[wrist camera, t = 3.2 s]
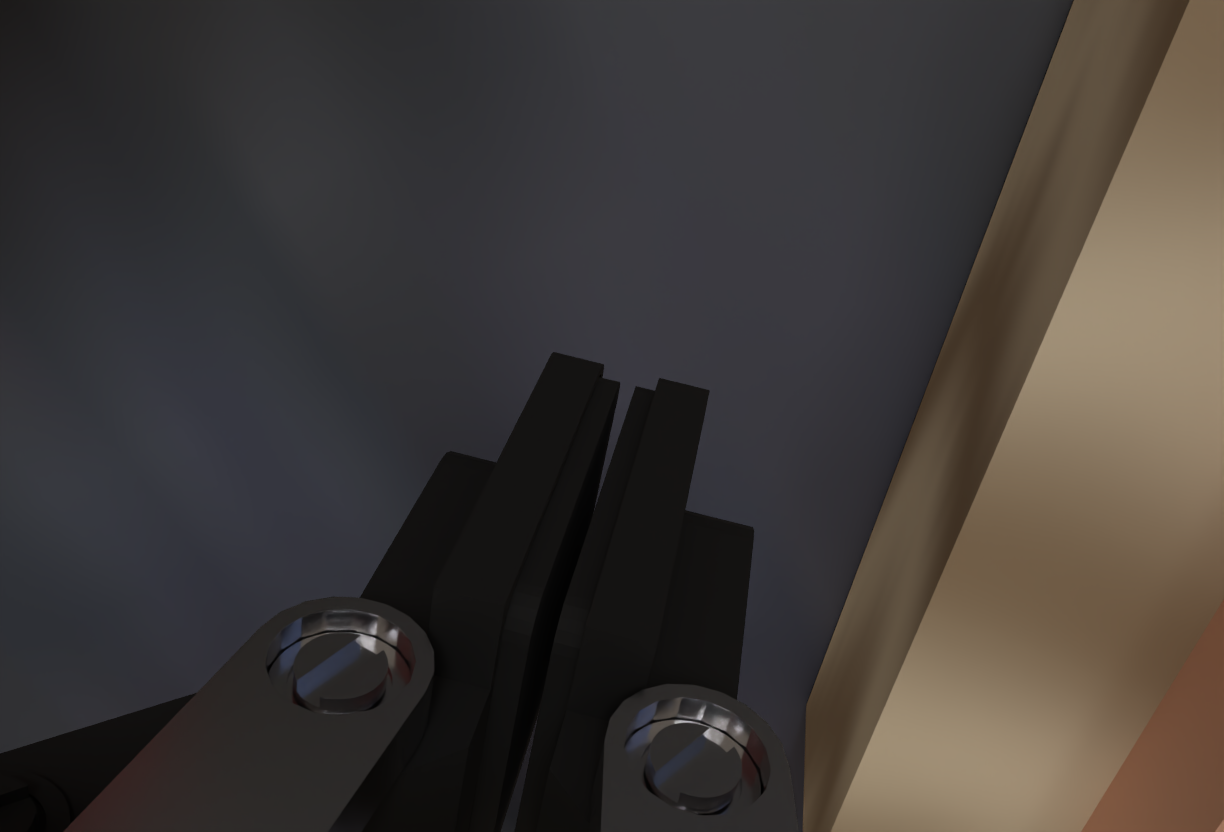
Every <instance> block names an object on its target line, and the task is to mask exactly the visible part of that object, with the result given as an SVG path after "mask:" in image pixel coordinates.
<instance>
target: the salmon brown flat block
mask: <svg viewBox="0 0 1224 832" xmlns="http://www.w3.org/2000/svg"><path fill="white" fill-rule="evenodd" d="M1081 832H1224V600H1223V601H1222V603H1221V605H1220V606H1219V608H1218V609H1217V611H1216V613H1215V614H1214V616H1213V618H1212V619H1211V621H1210V622H1209V624H1208V626H1207V627H1206V629H1205V631H1204V632H1203V634H1202V635H1201V637H1200V639H1199V640H1198V642H1197V644H1196V645H1195V647H1194V649H1193V650H1192V652H1191V653H1190V655H1189V657H1188V658H1187V660H1186V662H1185V663H1184V665H1183V666H1182V668H1181V670H1180V671H1179V673H1178V675H1177V676H1176V678H1175V680H1174V681H1173V683H1172V684H1171V686H1170V688H1169V689H1168V691H1167V693H1166V694H1165V696H1164V697H1163V699H1162V701H1161V702H1160V704H1159V706H1158V707H1157V709H1156V710H1155V712H1154V714H1153V715H1152V717H1151V719H1150V720H1149V722H1148V724H1147V725H1146V727H1145V728H1144V730H1143V732H1142V733H1141V735H1140V737H1139V738H1138V740H1137V741H1136V743H1135V745H1134V746H1133V748H1132V750H1131V751H1130V753H1129V755H1128V756H1127V758H1126V759H1125V761H1124V763H1123V764H1122V766H1121V768H1120V769H1119V771H1118V772H1117V774H1116V776H1115V777H1114V779H1113V781H1112V782H1111V784H1110V785H1109V787H1108V789H1107V790H1106V792H1105V794H1104V795H1103V797H1102V799H1101V800H1100V802H1099V803H1098V805H1097V807H1096V808H1095V810H1094V812H1093V813H1092V815H1091V816H1090V818H1089V820H1088V821H1087V823H1086V825H1085V826H1084V828H1083V830H1082V831H1081Z"/></svg>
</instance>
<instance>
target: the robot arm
mask: <svg viewBox="0 0 1224 832" xmlns="http://www.w3.org/2000/svg"><path fill="white" fill-rule="evenodd" d="M603 370H604V364H600V363H596V362H592V361H588V360H584V359H580V358H576V357H572V356H567V355H563V354H559V353H555V352H553V353H552V354H551V356H550V358H549V360H548V362H547V364H546V366H545V368H544V370H543V372H542V374H541V376H540V378H539V380H538V382H537V384H536V386H535V388H534V390H533V392H532V394H531V396H530V398H529V400H528V402H527V404H526V406H525V408H524V410H523V412H522V413H521V415H520V417H519V419H518V421H517V423H516V425H515V427H514V429H513V431H512V433H511V435H510V437H509V439H508V441H507V443H506V445H505V447H504V449H503V451H502V453H501V455H500V457H499V459H498V461H497V463H496V462H492V461H488V460H484V459H480V458H476V457H472V456H468V455H464V454H460V453H456V452H452V451H450V452H447V453H446V454H445V456H444V457H443V458H442V460H441V461H440V463H439V464H438V466H437V468H436V469H435V471H434V473H433V475H432V476H431V478H430V480H429V481H428V483H427V485H426V486H425V488H424V490H423V491H422V493H421V495H420V497H419V498H418V500H417V502H416V503H415V505H414V507H413V508H412V510H411V512H410V513H409V515H408V517H407V519H406V520H405V522H404V524H403V525H402V527H401V529H400V530H399V532H398V534H397V535H396V537H395V539H394V541H393V542H392V544H391V546H390V547H389V549H388V551H387V552H386V554H385V556H384V557H383V559H382V561H381V563H380V564H379V566H378V568H377V569H376V571H375V573H374V574H373V576H372V578H371V580H370V581H369V583H368V585H367V586H366V588H365V590H364V591H363V593H362V595H361V596H360V598H354V597H329V598H323V599H317V600H311V601H305V602H303V603H301V604H298V605H296V606H293V607H291V608H288V609H286V610H284V611H281V612H280V613H278V614H277V615H276V616H274V617H273V618H272V619H271V620H269V621H268V622H267V623H265V624H264V625H263V626H261V627H260V628H259V629H258V630H257V631H256V632H255V633H254V634H253V636H252V637H251V638H250V639H249V640H248V641H247V642H246V643H245V644H244V645H243V646H242V647H241V648H240V649H239V650H238V651H237V652H236V653H235V654H234V655H233V656H232V657H231V658H230V659H229V660H228V661H227V662H226V663H225V665H224V666H223V667H222V668H221V669H220V670H219V671H218V672H217V673H216V674H215V675H214V676H213V677H212V678H211V679H210V680H209V681H208V682H207V683H206V684H205V685H204V686H203V687H202V688H201V689H200V690H199V691H198V693H195V694H192V695H188V696H185V697H182V698H179V699H175V700H172V701H169V702H166V703H162V704H159V705H156V706H153V707H150V708H146V709H143V710H140V711H137V712H133V713H130V714H127V715H124V716H120V717H117V718H114V719H111V720H107V721H104V722H101V723H98V724H95V725H91V726H88V727H85V728H82V729H78V730H75V731H72V732H69V733H65V734H62V735H59V736H56V737H52V738H49V739H46V740H43V741H40V742H36V743H33V744H30V745H27V746H23V747H20V748H17V749H14V750H10V751H7V752H4V753H1V754H0V832H500V831H501V828H502V825H503V822H504V819H505V816H506V813H507V809H508V806H509V803H510V800H511V797H512V794H513V791H514V788H515V785H516V781H517V778H518V775H519V772H520V769H521V766H522V763H523V760H524V756H525V753H526V750H527V747H528V744H529V741H530V738H531V735H532V731H533V728H534V725H535V722H536V719H537V716H538V720H537V725H536V730H535V735H534V740H533V745H532V749H531V754H530V759H529V764H528V769H527V774H526V779H525V784H524V789H523V794H522V798H521V803H520V808H519V813H518V818H517V823H516V828H515V832H799V828H798V821H797V814H796V807H795V800H794V793H793V786H792V779H791V772H790V766H789V763H788V760H787V757H786V754H785V751H784V748H783V745H782V743H781V742H780V740H779V739H778V737H777V736H776V735H775V733H774V732H773V730H772V729H771V727H770V726H769V725H768V723H767V722H766V721H765V720H763V719H762V718H761V717H760V716H759V715H757V714H756V713H755V712H754V711H753V710H751V709H750V708H749V707H748V706H747V705H745V704H743V703H741V702H740V701H738V700H737V692H738V683H739V673H740V664H741V654H742V645H743V635H744V626H745V616H746V607H747V597H748V588H749V578H750V568H751V559H752V549H753V540H754V529H753V527H750V526H746V525H742V524H738V523H734V522H730V521H726V520H722V519H718V518H714V517H710V516H706V515H702V514H698V513H694V512H690V511H686V510H685V508H686V503H687V498H688V493H689V488H690V483H691V479H692V474H693V469H694V464H695V459H696V454H697V449H698V445H699V440H700V435H701V430H702V425H703V420H704V415H705V411H706V406H707V401H708V396H709V390H706V389H702V388H698V387H694V386H690V385H686V384H682V383H678V382H674V381H669V380H665V379H661V378H659V380H658V383H657V387H656V390H655V391H653V390H649V389H645V388H641V387H637V386H636V388H635V390H634V393H633V396H632V399H631V402H630V405H629V408H628V411H627V414H626V417H625V420H624V423H623V426H622V429H621V432H620V435H619V438H618V441H617V444H616V447H615V450H614V453H613V456H612V459H611V462H610V465H609V468H608V471H607V474H606V477H605V480H604V483H603V486H602V489H601V492H600V495H599V498H598V501H597V505H596V508H595V511H594V507H595V503H596V498H597V493H598V488H599V484H600V479H601V474H602V470H603V465H604V460H605V455H606V451H607V446H608V441H609V437H610V432H611V427H612V422H613V418H614V413H615V408H616V404H617V399H618V394H619V388H620V382H616V381H612V380H608V379H604V378H602V377H603ZM593 512H594V514H593ZM538 713H539V715H538Z"/></svg>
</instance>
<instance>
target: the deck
mask: <svg viewBox="0 0 1224 832" xmlns="http://www.w3.org/2000/svg"><path fill="white" fill-rule="evenodd" d="M1223 600H1224V0H1074V1H1073V4H1072V6H1071V9H1070V12H1069V14H1068V17H1067V20H1066V22H1065V25H1064V28H1063V30H1062V33H1061V35H1060V38H1059V41H1058V43H1057V46H1056V49H1055V51H1054V54H1053V56H1052V59H1051V62H1050V64H1049V67H1048V70H1047V72H1046V75H1045V78H1044V80H1043V83H1042V85H1041V88H1040V91H1039V93H1038V96H1037V99H1036V101H1035V104H1034V107H1033V109H1032V112H1031V114H1030V117H1029V120H1028V122H1027V125H1026V128H1025V130H1024V133H1023V136H1022V138H1021V141H1020V143H1019V146H1018V149H1017V151H1016V154H1015V157H1014V159H1013V162H1012V165H1011V167H1010V170H1009V172H1008V175H1007V178H1006V180H1005V183H1004V186H1003V188H1002V191H1001V194H1000V196H999V199H998V201H997V204H996V207H995V209H994V212H993V215H992V217H991V220H990V223H989V225H988V228H987V230H986V233H985V236H984V238H983V241H982V244H981V246H980V249H979V252H978V254H977V257H976V259H975V262H974V265H973V267H972V270H971V273H970V275H969V278H968V280H967V283H966V286H965V288H964V291H963V294H962V296H961V299H960V302H959V304H958V307H957V309H956V312H955V315H954V317H953V320H952V323H951V325H950V328H949V331H948V333H947V336H946V338H945V341H944V344H943V346H942V349H941V352H940V354H939V357H938V360H937V362H936V365H935V367H934V370H933V373H932V375H931V378H930V381H929V383H928V386H927V389H926V391H925V394H924V396H923V399H922V402H921V404H920V407H919V410H918V412H917V415H916V418H915V420H914V423H913V425H912V428H911V431H910V433H909V436H908V439H907V441H906V444H905V447H904V449H903V452H902V454H901V457H900V460H899V462H898V465H897V468H896V470H895V473H894V475H893V478H892V481H891V483H890V486H889V489H888V491H887V494H886V497H885V499H884V502H883V504H882V507H881V510H880V512H879V515H878V518H877V520H876V523H875V526H874V528H873V531H872V533H871V536H870V539H869V541H868V544H867V547H866V549H865V552H864V555H863V557H862V560H861V562H860V565H859V568H858V570H857V573H856V576H855V578H854V581H853V584H852V586H851V589H850V591H849V594H848V597H847V599H846V602H845V605H844V607H843V610H842V613H841V615H840V618H839V620H838V623H837V626H836V628H835V631H834V634H833V636H832V639H831V642H830V644H829V647H828V649H827V652H826V655H825V657H824V660H823V663H822V665H821V668H820V670H819V673H818V676H817V678H816V681H815V684H814V686H813V689H812V692H811V694H810V697H809V699H808V702H807V705H806V735H805V770H804V806H803V832H1081V831H1082V830H1083V828H1084V826H1085V825H1086V823H1087V821H1088V820H1089V818H1090V816H1091V815H1092V813H1093V812H1094V810H1095V808H1096V807H1097V805H1098V803H1099V802H1100V800H1101V799H1102V797H1103V795H1104V794H1105V792H1106V790H1107V789H1108V787H1109V785H1110V784H1111V782H1112V781H1113V779H1114V777H1115V776H1116V774H1117V772H1118V771H1119V769H1120V768H1121V766H1122V764H1123V763H1124V761H1125V759H1126V758H1127V756H1128V755H1129V753H1130V751H1131V750H1132V748H1133V746H1134V745H1135V743H1136V741H1137V740H1138V738H1139V737H1140V735H1141V733H1142V732H1143V730H1144V728H1145V727H1146V725H1147V724H1148V722H1149V720H1150V719H1151V717H1152V715H1153V714H1154V712H1155V710H1156V709H1157V707H1158V706H1159V704H1160V702H1161V701H1162V699H1163V697H1164V696H1165V694H1166V693H1167V691H1168V689H1169V688H1170V686H1171V684H1172V683H1173V681H1174V680H1175V678H1176V676H1177V675H1178V673H1179V671H1180V670H1181V668H1182V666H1183V665H1184V663H1185V662H1186V660H1187V658H1188V657H1189V655H1190V653H1191V652H1192V650H1193V649H1194V647H1195V645H1196V644H1197V642H1198V640H1199V639H1200V637H1201V635H1202V634H1203V632H1204V631H1205V629H1206V627H1207V626H1208V624H1209V622H1210V621H1211V619H1212V618H1213V616H1214V614H1215V613H1216V611H1217V609H1218V608H1219V606H1220V605H1221V603H1222V601H1223Z"/></svg>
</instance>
